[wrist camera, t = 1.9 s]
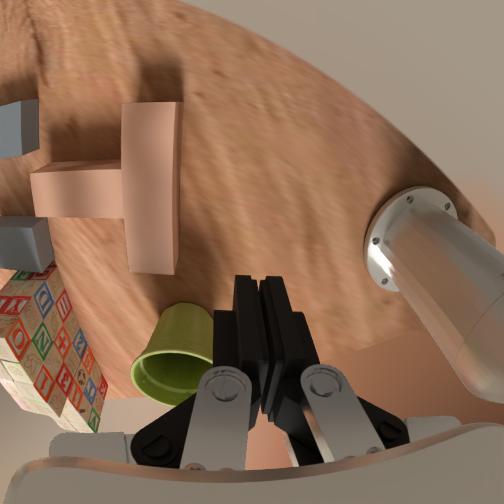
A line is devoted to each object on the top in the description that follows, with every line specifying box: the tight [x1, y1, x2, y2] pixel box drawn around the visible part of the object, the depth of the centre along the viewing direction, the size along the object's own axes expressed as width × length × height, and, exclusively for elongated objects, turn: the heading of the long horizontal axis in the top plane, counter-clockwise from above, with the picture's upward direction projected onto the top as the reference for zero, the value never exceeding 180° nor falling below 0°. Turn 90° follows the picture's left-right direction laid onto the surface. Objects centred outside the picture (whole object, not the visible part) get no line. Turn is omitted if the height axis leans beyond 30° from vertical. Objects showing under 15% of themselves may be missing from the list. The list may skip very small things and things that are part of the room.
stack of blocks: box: [0, 266, 108, 433], centre depth 28 cm, size 21×6×12 cm, turn 0°
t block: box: [30, 102, 184, 275], centre depth 23 cm, size 13×14×4 cm
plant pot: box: [130, 303, 213, 407], centre depth 29 cm, size 9×9×9 cm
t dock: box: [0, 99, 55, 273], centre depth 22 cm, size 7×17×3 cm, turn 174°
